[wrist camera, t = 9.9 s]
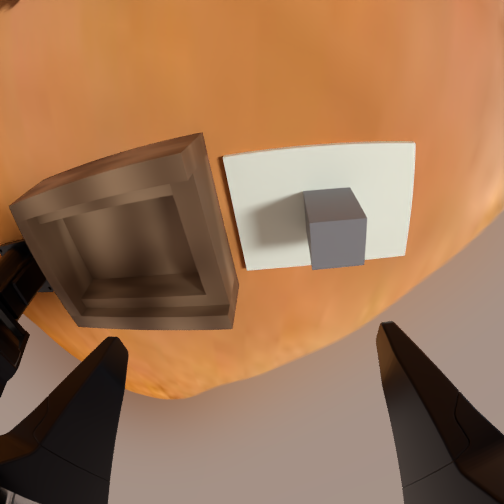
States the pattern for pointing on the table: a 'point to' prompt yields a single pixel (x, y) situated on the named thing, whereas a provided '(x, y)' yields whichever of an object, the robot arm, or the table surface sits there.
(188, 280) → the box
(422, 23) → the table surface
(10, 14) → the table surface
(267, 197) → the cover
